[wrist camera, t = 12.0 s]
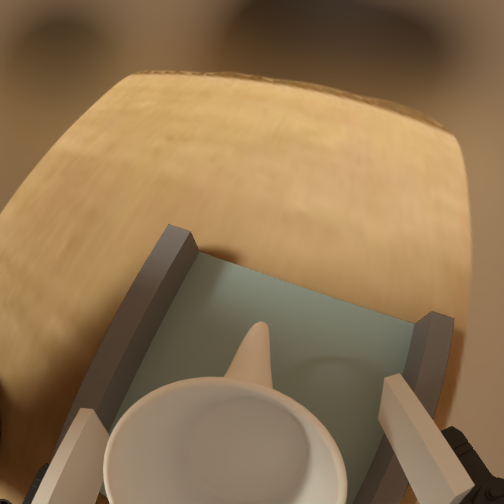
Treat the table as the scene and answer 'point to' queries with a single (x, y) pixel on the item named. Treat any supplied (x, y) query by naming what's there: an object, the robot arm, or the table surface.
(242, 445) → the mug
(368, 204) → the table surface
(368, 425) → the tray with side rails
